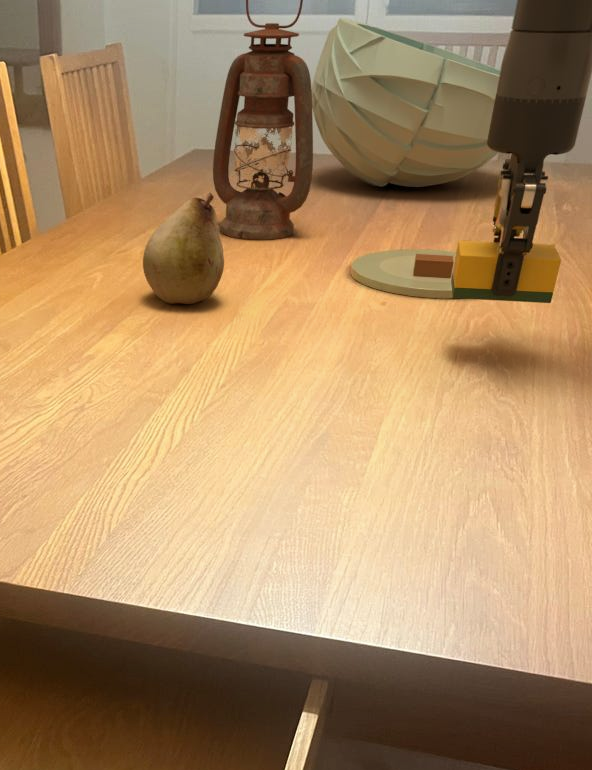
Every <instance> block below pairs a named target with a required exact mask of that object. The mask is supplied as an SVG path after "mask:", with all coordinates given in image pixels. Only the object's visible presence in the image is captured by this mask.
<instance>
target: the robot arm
mask: <svg viewBox="0 0 592 770" xmlns="http://www.w3.org/2000/svg"><path fill="white" fill-rule="evenodd" d="M499 70H500V76H499V81H498V87H497V92H496V97H495V102H494V107H493V113H492V118H491V123H490V129H489V134H488V139H487V145H488V147H489V148H490V149H491V150H493V151H496V152H499V153H500V154H506V155H508V154H511V155H510V158H507V159H505V160H504V162H503V164H502V169H500V171H499V173H498V179H497V193H496V197H495V201H494V205H493V207H494V208H493V216H492V217H493V218H492V222H493V227H492V233H493V234H492V235H493V237H494V238H493V241H492V242H500V244H499V245H498V249H497V250H499V251H498V259H497V264H496V269H495V274H494V279H493V283H492V288H491V290H492V294H493V295H495V296H509V297H511V296H513V295H515V293H516V290H517V286H518V281H519V277H520V272H521V268H522V263H523V259H524V256H526V254H527V253H529V252H530V250H531V249H532V246H533V244H534V243H533V242H534V237H535V233H536V230H537V225H538V224H539V219H540V213H541V209H542V204H543V200H544V196H545V195H546V193H547V189H548V182H549V176H548V175H546V170H544V162H545V159H546V158H547V157H548V156H550V155H553V156H557V155H564V154H566V153H569V152H571V151H572V150H573V149H574V147H575V146H576V142H577V137H578V133H579V130H580V125H581V120H582V117H583V111H584V107H585V103H586V100H587V95H588V91H589V86H590V82H591V78H592V0H516V2H515V6H514V13H513V19H512V24H511V30H510V33H509V38H508V41H507V45H506V47H505V50H504V54H503V57H502V61H501V66H500V69H499ZM522 233H523V234H522ZM521 234H522V237H520V236H521Z"/></svg>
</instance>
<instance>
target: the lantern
mask: <svg viewBox="0 0 592 770" xmlns="http://www.w3.org/2000/svg"><path fill="white" fill-rule="evenodd" d="M303 3H304V0H299V8H298V12H297V15H296V17H295V19H294V20H293V22H291V23H290V24H287V25H280V24H279V23H278V22H268V23H265V24H258V23H255V22H254V21H253V20H252V18H251V16H250V12H249V10H250V9H249V0H245V13H246V17H247V20H248V21H249V24H251V25H252V26H253V27H255V28H261V29H258V30H253V31H249V32H244V34H243V37H246V38H250V45H249V46H248V49H249V50H251V51H248V52H245V53H242V54H240V55H238V56H236V57H235V58H234V60H233V61H232V63H231V64H230V67H229V69H228V72H227V75H226V80H225V83H224V89H223V94H222V100H221V105H220V111H219V117H218V124H217V130H216V136H215V143H214V150H213V151H214V152H213V161H212V181H213V185H214V191H215V192H216V194H217V196H218V198H219V199H220V200H221V202H223V203H224V204H225V206H226V207H225V217H224V218H223V220H222V221H221V222H220V224H219V232H220V233H221V234H222V235H224V236H227V237H231V238H234V239H240V240H241V239H242V240H255V241H269V240H278V239H283V238H287V237H290V236H292V235H293V234H294V228H295V224H294V223H293V221H292V220H291V218H290V217H291V213H294V212H296V211H297V210H299V209H300V208H301V207H302V206H303V205H304V203H305V202H306V201H307V198H308V195H309V193H310V191H311V185H312V180H313V167H314V166H313V165H314V130H313V129H314V126H313V125H314V124H313V122H314V121H313V108H312V80H311V73H310V70H309V67H308V65H307V62H305V60H304V59H303V58H302V57H300V56H299V55H295V53H294V52H292V51H291V50H292V49H293V46H291V42H292V40H291V39H292V38H297V37H299V36H300V33H299V32H295V31H291V30H285V29H289V28H292V27H293V26H294V25H295V24H296V23H297V22H298V20H299V18H300V16H301V12H302V10H303V9H302V8H303ZM255 39H260V40H259V41H260V42H259V43H256V44H255ZM268 39H269V40H275V43H267V40H268ZM282 39H287V43H286V44H285V43H282ZM240 97H243V98H244V99H243V108H242V109H241V110H240V111H238V107H239V103H240ZM291 97H293V100H294V113H293V112H292V111H291V110H290V109H289V98H291ZM235 126H236V130H235ZM262 129H263V130H266V131H265V132H262V133H260V134H259V132H258V130H262ZM293 129H295V130H293ZM234 131H235V132H234ZM294 132H295V168H294V169H295V171H293V169H288V166H289V161H290V156H291V151H292V143H293V135H294V134H293V133H294ZM234 134H235V138H234V139H237V138H238V139H239V141H241V144H238V143H236V142H237V141H234V148H233V153H234V164H235V165H234V166H235V169H234V170H233V171H234V172H235V175H237V176H238V181H237V183H236V184H235V185H236V186H237V187H238V188H241V189H244V190H243V191H239V190H237V189H236V188H234V187H233V186H232V185H231V184H232V183H231V181H230V176H229V174H230V173H229V171H230V170H229V169H230V166H229V165H230V157H231V149H232V142H233V136H234ZM269 135H274V136H275V135H279V136H278V138H276V141H280V144H279V145H277V147H278V148H277V147H276V146H275V147H274V142H273V141H272V140H271V141H270V139H269V138H270V136H269ZM267 137H268V138H267ZM289 141H291V142H289ZM287 142H288V144H287ZM265 168H267V169H265ZM279 168H281V169H280V170H279ZM241 171H242V172H241ZM275 172H276V174H274V173H275ZM278 172H279V175H278V174H277V173H278ZM284 172H286V173H284ZM242 173H243V175H244V176H245V177H247V178H245V179H243V180H241V174H242ZM251 174H252V175H251ZM273 176H274V177H279V178H281V180H280V181H279V179H276V178H275V179H276V180H272V179H273ZM286 177H287V182H288V183H293V186H292V188H291V191H290V193H289V194H288V195H285V194H284V193H282V192H281V191H279V192H277V191H275V190H276V189H281V188H283V187H284V185H285V184H284V180H285V178H286ZM241 183H247V186H245V185H243V184H241ZM270 183H276V184H278V185H279V186H278V185H275V186H273V187H272V186H270ZM240 184H241V185H240ZM248 186H249V187H248Z"/></svg>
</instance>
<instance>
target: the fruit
mask: <svg viewBox="0 0 592 770" xmlns="http://www.w3.org/2000/svg"><path fill="white" fill-rule="evenodd" d="M213 200H214V195H213V194H212V193H211V192H208V193H207V195H206V199H203V198H200V197H191V198H190V199H188V200H187V201H185V202H184V203H183V204H182V205H181V206H180V207H179V208H177V210H176V211H175V212H173V214H171V215H169V217H168V218H167V219H166V220H164V221H163V222H162V223H161V224H160V225H159V226H158V227H157V228H156V229H155V230H154V231H153V233H152V234H151V236H150V238H149V239H148V240H147V243H146V245H145V248H144V251H143V255H142V270H143V274H144V277H145V279H146V283H147V284H148V285H149V287H150V288H151V290H152V291H153V293H154V294H155V295H156V296H157V297H158V298H159V299H160V300H162V301H164V303H167V304H169V305H170V304H171V305H172V304H183V305H194V304H196V303H199V302H202V301H204V300H206V299H208V298H210V296H212V295H213V293H214V292H215V290H216V289H217V288H218V285H219V284H220V282H221V279H222V277H223V274H224V270H225V257H224V256H225V255H224V247H223V243H222V239H221V237H220V234H219V231H218V215H217V213H216V210H215V209H214V206H213V205H211V202H212V201H213Z"/></svg>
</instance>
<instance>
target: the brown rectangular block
mask: <svg viewBox="0 0 592 770" xmlns="http://www.w3.org/2000/svg"><path fill="white" fill-rule="evenodd" d="M453 263H454V260H453V256H447V255H429V254H416V257H415V263H414V268H413V276H421V277H437V278H451V274H452V268H453Z"/></svg>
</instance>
